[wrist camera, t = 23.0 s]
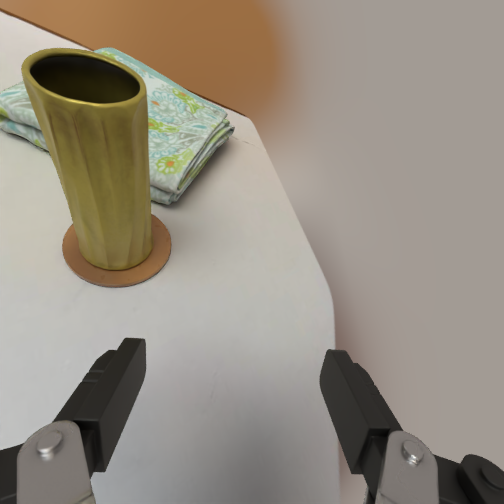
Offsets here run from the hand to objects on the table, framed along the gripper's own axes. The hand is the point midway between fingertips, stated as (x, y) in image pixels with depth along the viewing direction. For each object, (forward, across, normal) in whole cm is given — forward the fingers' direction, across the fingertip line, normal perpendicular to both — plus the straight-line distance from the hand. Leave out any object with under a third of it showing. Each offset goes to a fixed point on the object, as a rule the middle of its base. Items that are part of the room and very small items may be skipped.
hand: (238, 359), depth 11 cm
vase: (+14, -11, 0) cm, 18 cm away
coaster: (+14, -11, 0) cm, 18 cm away
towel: (+28, -14, +9) cm, 33 cm away
